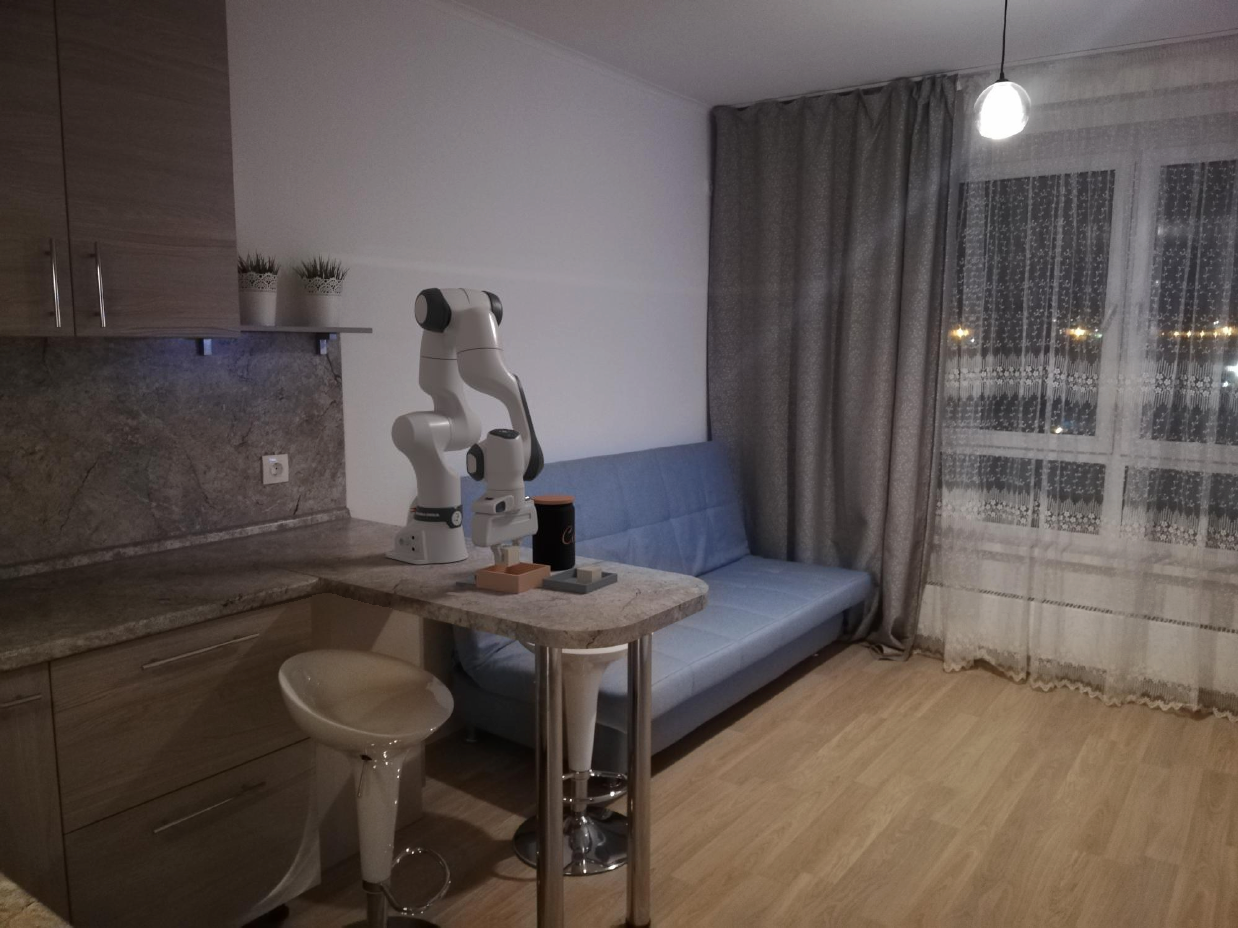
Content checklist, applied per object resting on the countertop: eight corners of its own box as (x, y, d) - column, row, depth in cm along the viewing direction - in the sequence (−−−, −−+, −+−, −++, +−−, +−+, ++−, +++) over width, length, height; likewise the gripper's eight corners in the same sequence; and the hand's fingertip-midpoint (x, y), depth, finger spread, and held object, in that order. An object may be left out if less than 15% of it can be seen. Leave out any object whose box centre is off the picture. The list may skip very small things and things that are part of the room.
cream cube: (494, 564, 211) (494, 547, 211) (505, 561, 214) (505, 544, 214) (508, 566, 209) (508, 549, 209) (519, 563, 212) (519, 546, 212)
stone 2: (577, 586, 209) (577, 569, 209) (587, 582, 213) (586, 565, 212) (592, 588, 207) (591, 571, 207) (601, 584, 211) (601, 567, 210)
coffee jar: (569, 574, 224) (568, 501, 222) (527, 572, 226) (526, 500, 224) (579, 565, 234) (579, 495, 232) (539, 563, 236) (538, 494, 234)
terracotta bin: (476, 589, 209) (476, 569, 209) (509, 578, 219) (509, 560, 219) (518, 596, 203) (518, 576, 203) (550, 584, 213) (550, 565, 213)
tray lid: (455, 585, 213) (455, 578, 213) (479, 575, 222) (478, 569, 222) (481, 587, 211) (481, 581, 210) (504, 578, 220) (503, 571, 219)
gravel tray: (542, 589, 209) (542, 578, 209) (574, 577, 220) (574, 567, 220) (586, 596, 203) (586, 585, 202) (617, 584, 214) (617, 573, 213)
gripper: (522, 493, 221) (523, 550, 222) (465, 505, 203) (467, 566, 205) (543, 495, 217) (544, 553, 219) (488, 507, 200) (489, 569, 202)
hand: (506, 559), depth 212 cm, fingers closed on cream cube, 4 cm apart
